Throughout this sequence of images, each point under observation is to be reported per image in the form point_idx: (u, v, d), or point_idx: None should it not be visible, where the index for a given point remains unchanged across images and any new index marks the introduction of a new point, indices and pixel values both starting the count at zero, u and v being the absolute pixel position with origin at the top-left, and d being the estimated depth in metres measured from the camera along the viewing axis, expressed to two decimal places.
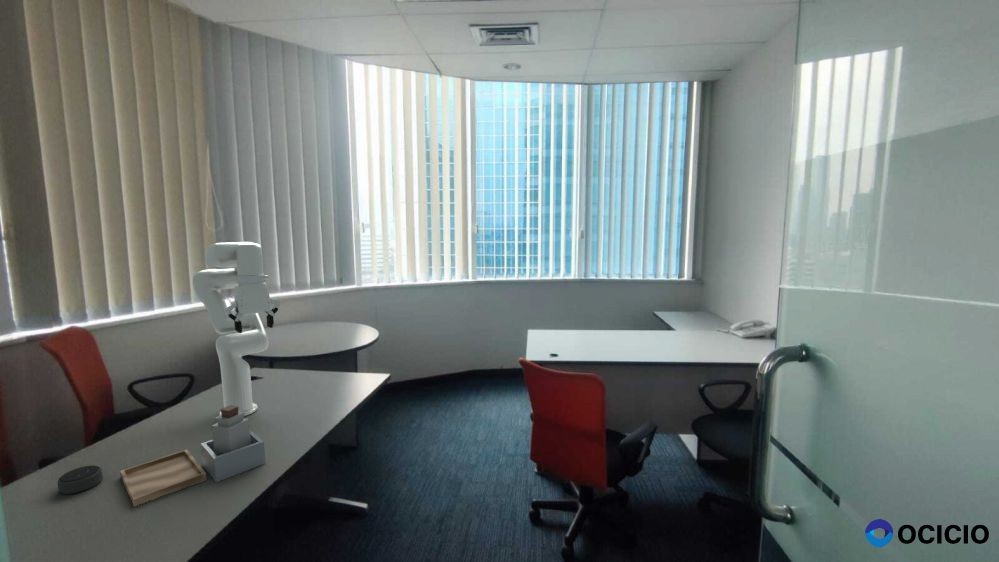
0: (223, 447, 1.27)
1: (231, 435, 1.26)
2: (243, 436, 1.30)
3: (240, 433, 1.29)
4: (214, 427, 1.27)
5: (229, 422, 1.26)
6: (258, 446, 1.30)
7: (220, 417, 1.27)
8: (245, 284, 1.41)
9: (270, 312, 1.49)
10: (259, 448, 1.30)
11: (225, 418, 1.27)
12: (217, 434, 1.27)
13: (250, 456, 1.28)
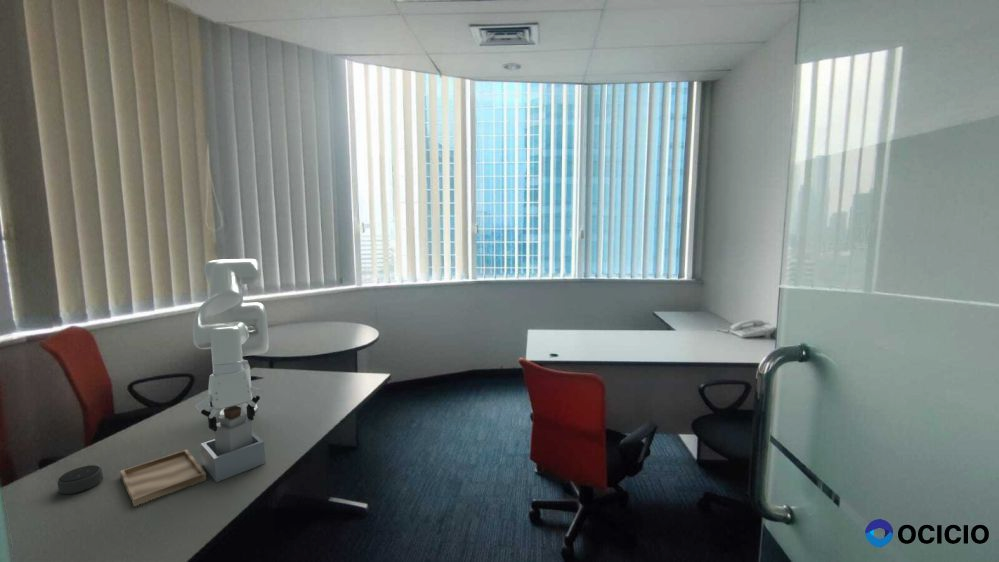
0: (224, 447, 1.26)
1: (232, 437, 1.25)
2: (244, 437, 1.29)
3: (241, 434, 1.28)
4: None
5: (231, 424, 1.25)
6: (258, 446, 1.30)
7: (223, 417, 1.27)
8: (221, 374, 1.23)
9: (250, 402, 1.30)
10: (259, 448, 1.30)
11: (227, 419, 1.26)
12: (219, 434, 1.26)
13: (250, 456, 1.28)
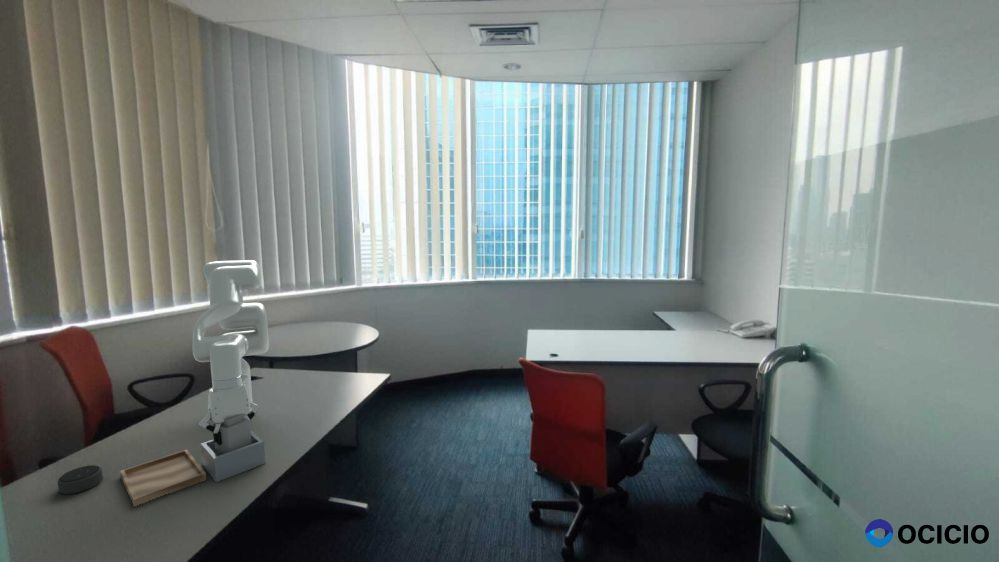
0: (223, 447, 1.27)
1: (230, 435, 1.26)
2: (243, 437, 1.29)
3: (240, 433, 1.28)
4: None
5: (228, 422, 1.26)
6: (258, 446, 1.30)
7: None
8: (220, 390, 1.24)
9: (246, 418, 1.31)
10: (259, 448, 1.30)
11: None
12: None
13: (250, 456, 1.28)
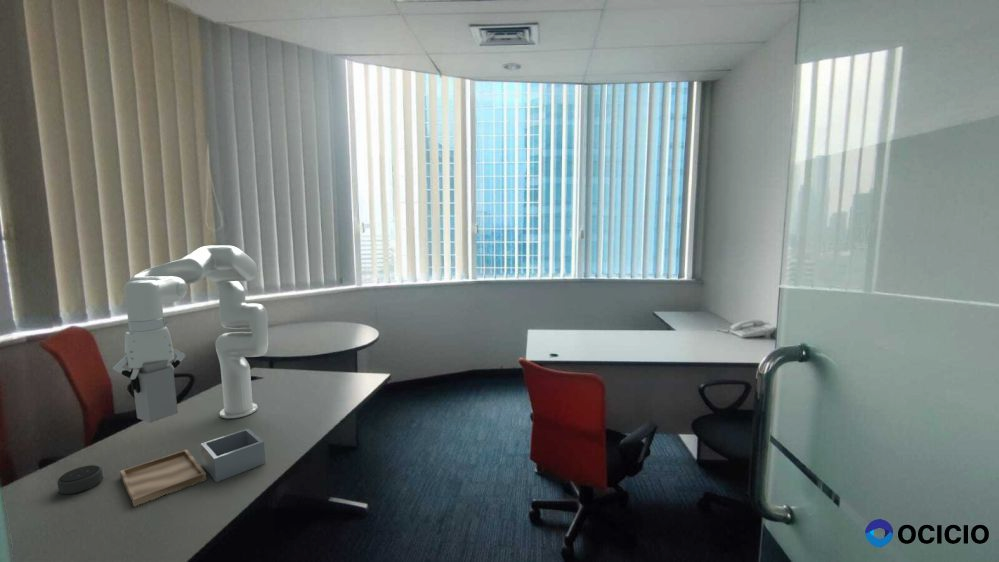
0: (141, 395, 1.17)
1: (148, 382, 1.16)
2: (165, 385, 1.19)
3: (161, 381, 1.18)
4: None
5: (147, 368, 1.16)
6: (258, 446, 1.30)
7: None
8: (136, 332, 1.14)
9: (169, 366, 1.21)
10: (259, 448, 1.30)
11: None
12: None
13: (250, 456, 1.28)
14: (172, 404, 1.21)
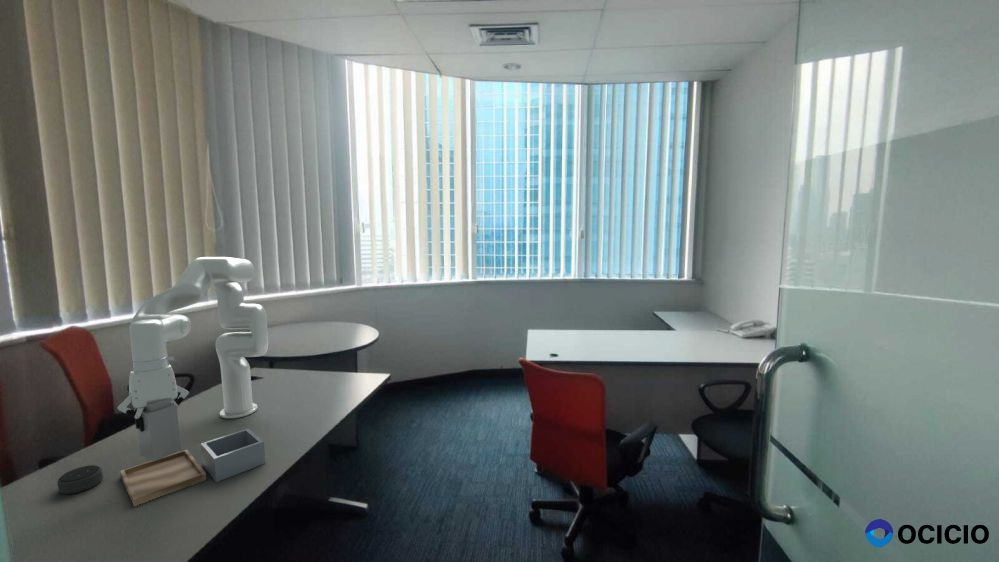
0: (145, 433, 1.18)
1: (152, 421, 1.17)
2: (169, 423, 1.21)
3: (164, 420, 1.20)
4: None
5: (151, 407, 1.17)
6: (258, 446, 1.30)
7: None
8: (140, 372, 1.16)
9: (173, 403, 1.23)
10: (259, 448, 1.30)
11: None
12: None
13: (250, 456, 1.28)
14: (175, 441, 1.23)
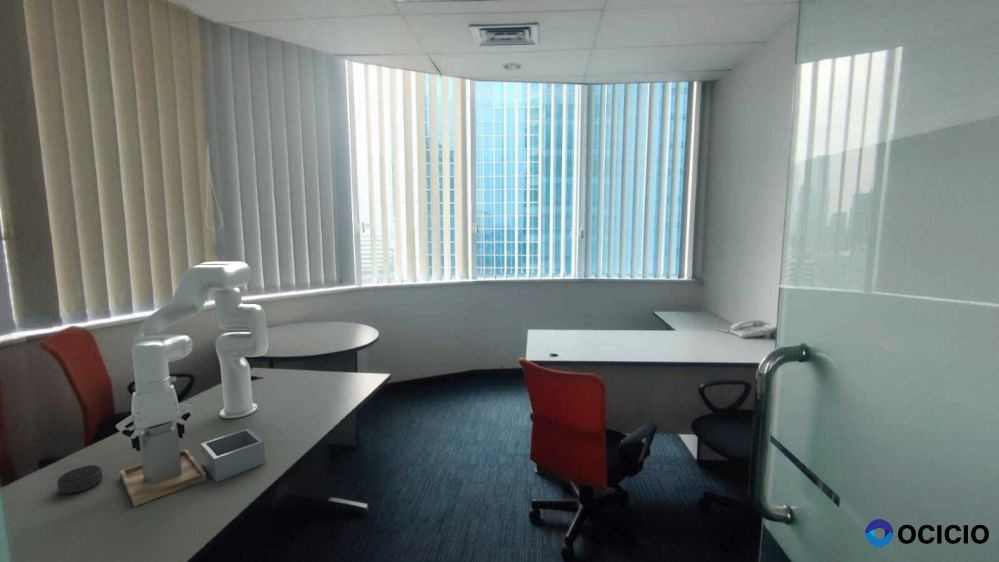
0: (146, 457, 1.20)
1: (152, 446, 1.18)
2: (169, 447, 1.22)
3: (165, 444, 1.21)
4: (140, 435, 1.20)
5: (151, 432, 1.19)
6: (258, 446, 1.30)
7: None
8: (143, 393, 1.16)
9: (179, 420, 1.24)
10: (259, 448, 1.30)
11: None
12: (142, 443, 1.20)
13: (250, 456, 1.28)
14: (176, 465, 1.24)
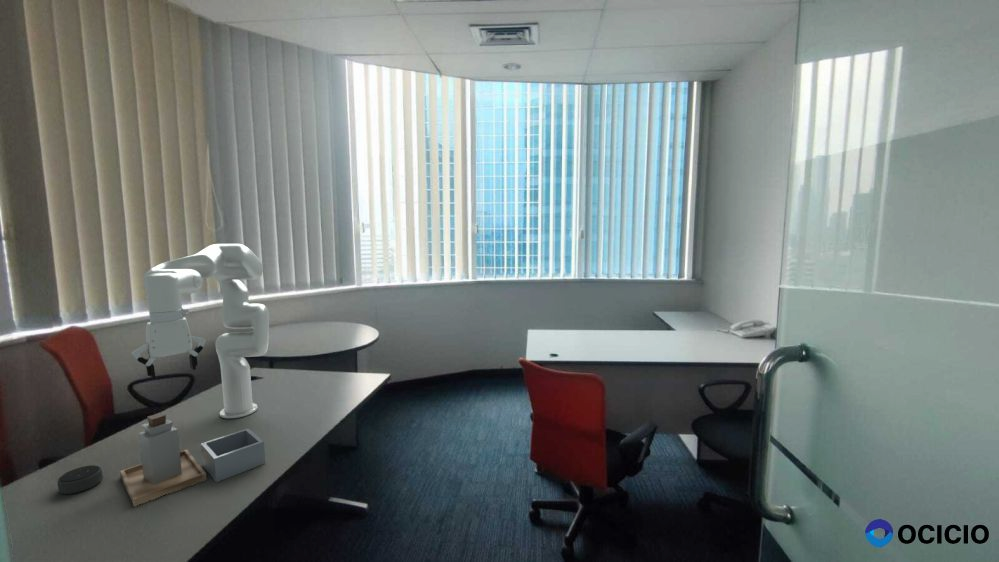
0: (146, 457, 1.20)
1: (152, 446, 1.18)
2: (169, 447, 1.22)
3: (165, 444, 1.21)
4: (140, 435, 1.20)
5: (151, 432, 1.19)
6: (258, 446, 1.30)
7: (146, 425, 1.21)
8: (157, 322, 1.20)
9: (192, 352, 1.28)
10: (259, 448, 1.30)
11: (149, 427, 1.20)
12: (142, 443, 1.20)
13: (250, 456, 1.28)
14: (176, 465, 1.24)
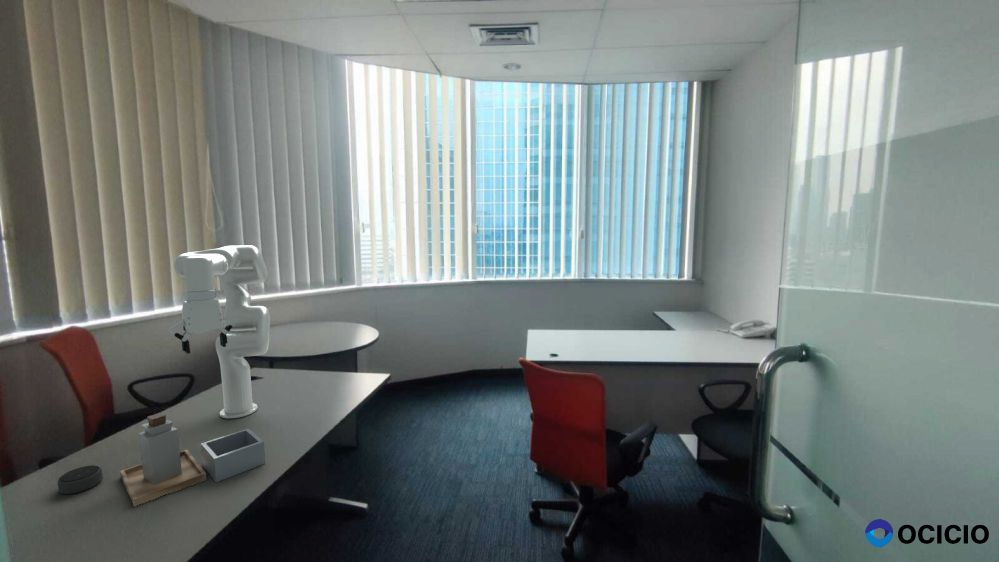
0: (146, 457, 1.20)
1: (152, 446, 1.18)
2: (169, 447, 1.22)
3: (165, 444, 1.21)
4: (140, 435, 1.20)
5: (151, 432, 1.19)
6: (258, 446, 1.30)
7: (146, 425, 1.21)
8: (193, 301, 1.30)
9: (223, 330, 1.38)
10: (259, 448, 1.30)
11: (149, 427, 1.20)
12: (142, 443, 1.20)
13: (250, 456, 1.28)
14: (176, 465, 1.24)
